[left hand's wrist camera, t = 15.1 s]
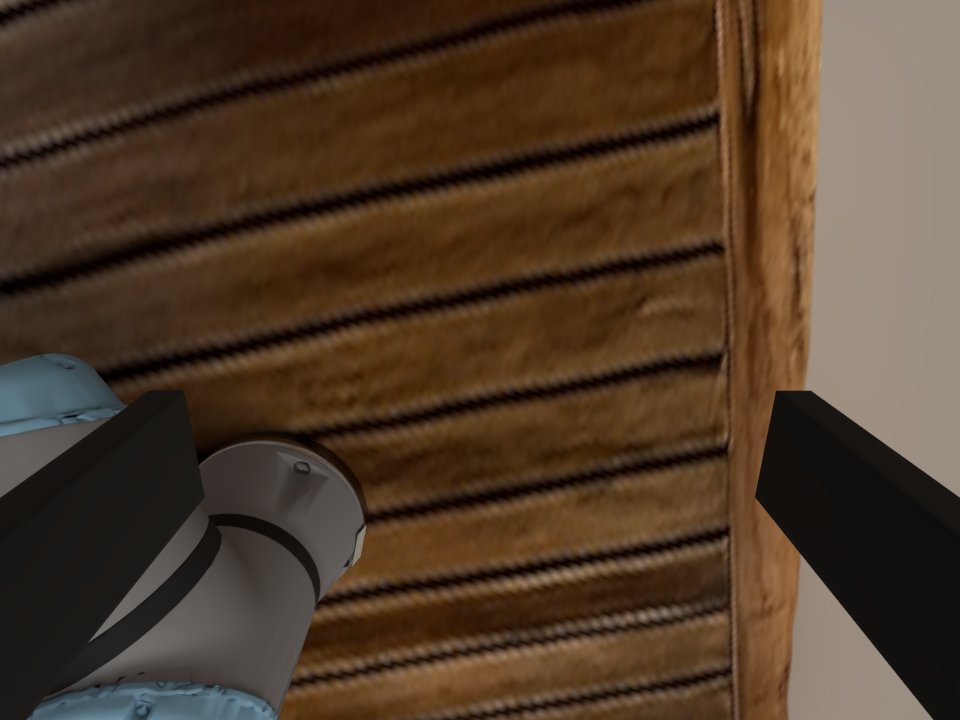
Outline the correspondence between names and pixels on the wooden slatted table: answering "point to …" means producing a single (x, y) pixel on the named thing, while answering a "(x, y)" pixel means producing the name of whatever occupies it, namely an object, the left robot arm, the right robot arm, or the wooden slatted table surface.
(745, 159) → the wooden slatted table surface
